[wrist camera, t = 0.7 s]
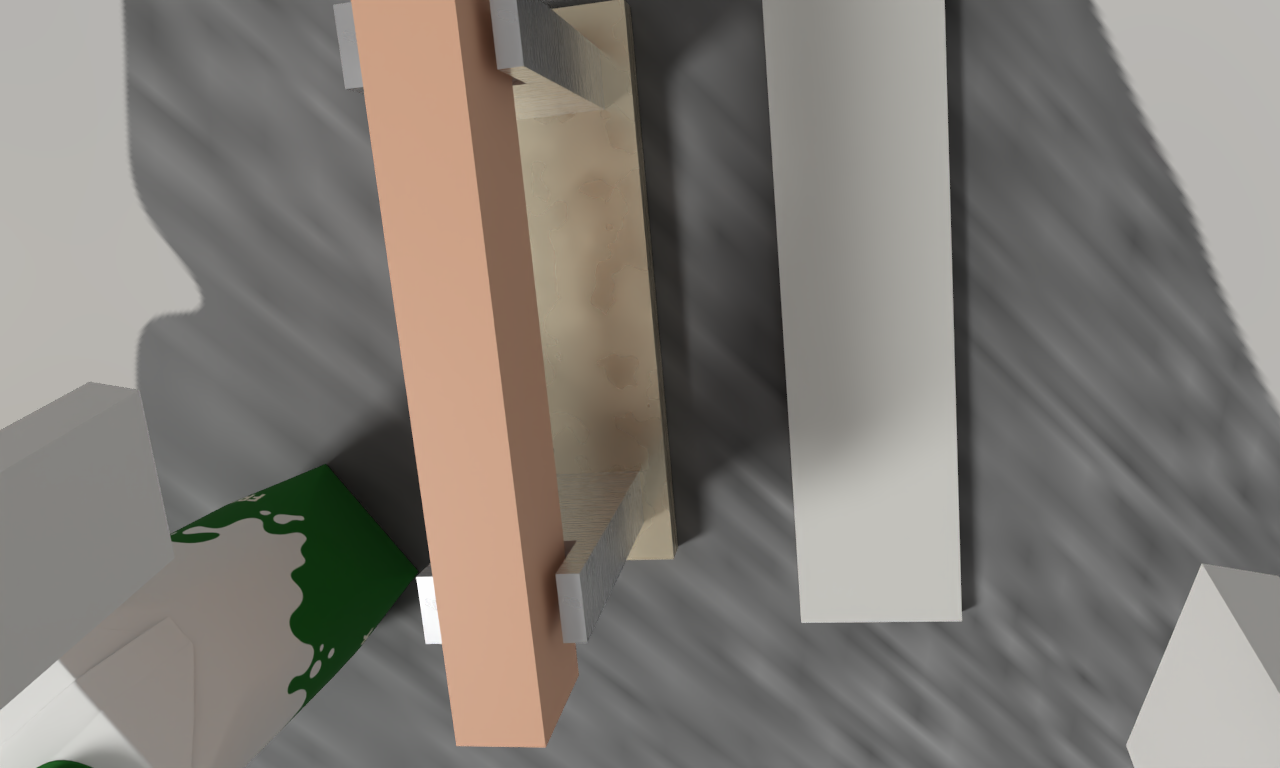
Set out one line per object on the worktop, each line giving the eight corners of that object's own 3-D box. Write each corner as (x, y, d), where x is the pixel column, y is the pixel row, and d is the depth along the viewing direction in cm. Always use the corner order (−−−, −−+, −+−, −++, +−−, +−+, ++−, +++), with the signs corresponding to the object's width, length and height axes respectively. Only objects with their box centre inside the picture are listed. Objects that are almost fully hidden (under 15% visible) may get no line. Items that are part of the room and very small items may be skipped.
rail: (578, 674, 32) (545, 747, 28) (500, 675, 33) (456, 745, 29) (493, -87, 28) (437, -142, 23) (404, -72, 28) (333, -124, 24)
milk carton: (327, 668, 46) (-10, 1002, 27) (213, 537, 46) (-214, 778, 26) (444, 574, 44) (169, 864, 24) (325, 435, 43) (-51, 617, 24)
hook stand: (677, 546, 41) (628, 693, 29) (515, 550, 43) (400, 692, 30) (630, 7, 37) (547, -98, 25) (451, 32, 39) (286, -54, 26)
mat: (958, 613, 40) (961, 621, 39) (801, 614, 41) (801, 622, 40) (940, -23, 35) (943, -28, 34) (762, 1, 36) (761, -3, 35)
